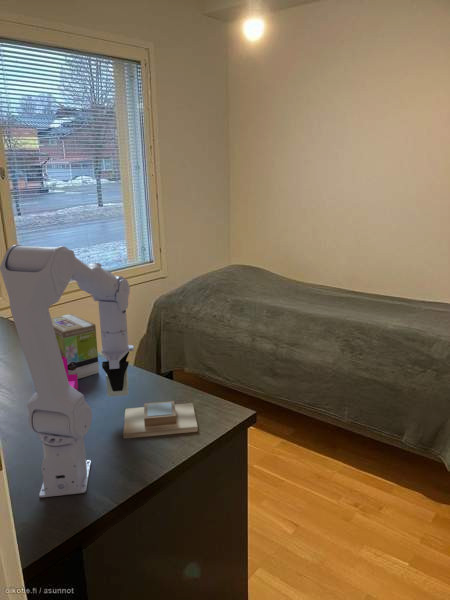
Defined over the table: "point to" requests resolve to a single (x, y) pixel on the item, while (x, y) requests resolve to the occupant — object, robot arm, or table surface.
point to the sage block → (117, 393)
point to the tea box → (77, 344)
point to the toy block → (71, 378)
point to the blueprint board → (143, 431)
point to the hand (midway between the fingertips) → (118, 385)
